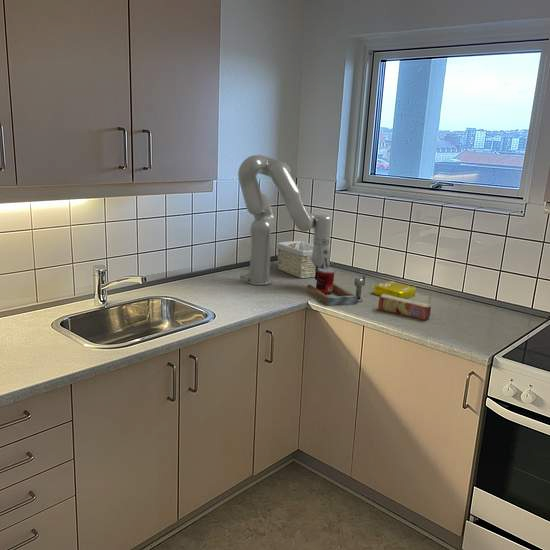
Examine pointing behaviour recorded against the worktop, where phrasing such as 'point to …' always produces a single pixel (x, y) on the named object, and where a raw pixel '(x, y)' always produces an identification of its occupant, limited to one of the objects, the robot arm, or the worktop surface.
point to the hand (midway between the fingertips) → (318, 279)
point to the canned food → (325, 280)
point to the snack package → (404, 307)
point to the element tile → (395, 290)
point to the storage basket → (296, 258)
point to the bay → (330, 301)
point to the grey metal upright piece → (359, 287)
